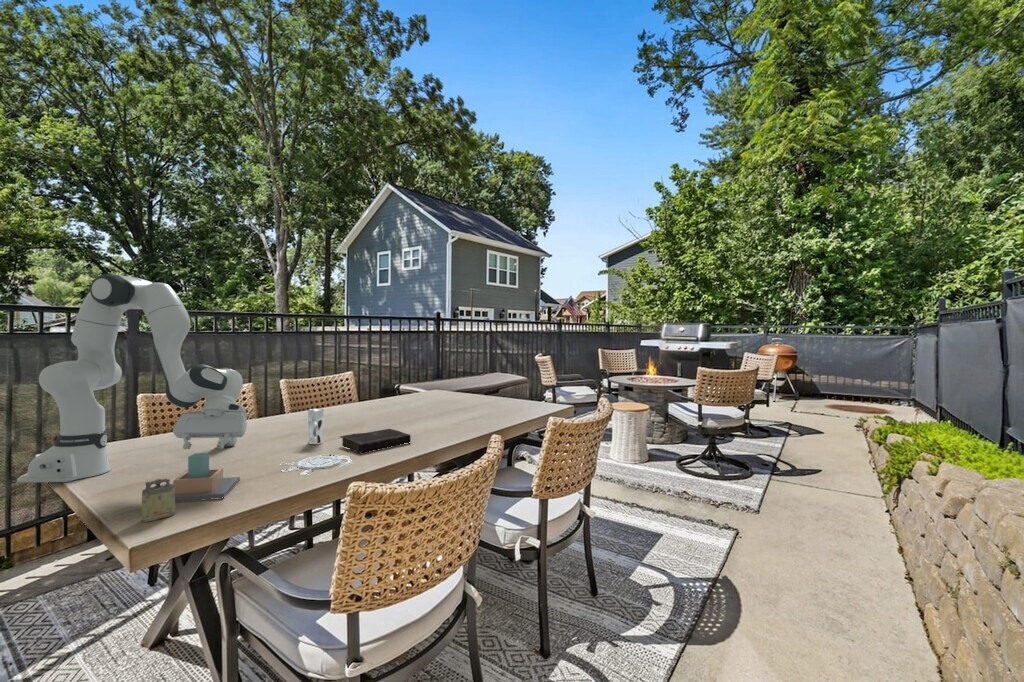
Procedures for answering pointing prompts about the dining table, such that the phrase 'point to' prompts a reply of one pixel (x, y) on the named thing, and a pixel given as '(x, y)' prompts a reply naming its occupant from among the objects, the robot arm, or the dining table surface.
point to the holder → (203, 486)
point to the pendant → (319, 463)
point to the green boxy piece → (158, 500)
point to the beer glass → (315, 425)
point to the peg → (198, 465)
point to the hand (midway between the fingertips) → (203, 448)
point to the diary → (375, 440)
